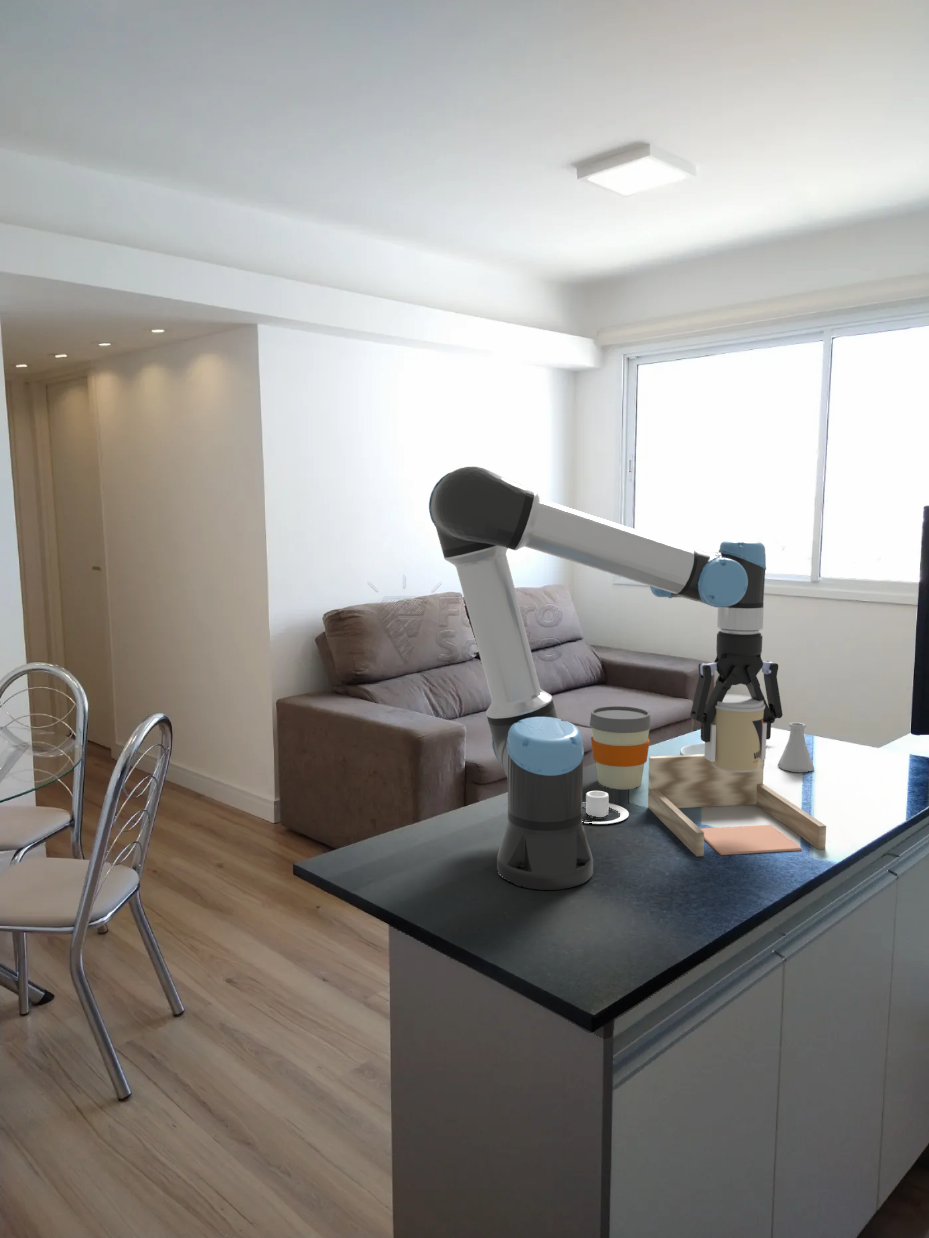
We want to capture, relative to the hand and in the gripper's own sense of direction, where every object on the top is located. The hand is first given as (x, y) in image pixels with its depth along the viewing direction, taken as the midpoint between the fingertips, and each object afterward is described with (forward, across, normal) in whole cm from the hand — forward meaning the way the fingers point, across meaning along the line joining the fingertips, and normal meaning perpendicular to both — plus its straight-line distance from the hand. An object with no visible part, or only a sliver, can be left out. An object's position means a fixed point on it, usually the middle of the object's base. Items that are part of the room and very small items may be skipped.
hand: (734, 758), depth 153 cm
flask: (+13, -30, -32) cm, 46 cm away
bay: (+13, -1, -2) cm, 13 cm away
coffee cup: (+2, 0, 0) cm, 2 cm away
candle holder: (+14, +21, -12) cm, 28 cm away
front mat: (+13, 0, +5) cm, 14 cm away
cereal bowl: (+13, -9, -24) cm, 29 cm away
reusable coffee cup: (+13, +11, -30) cm, 34 cm away
